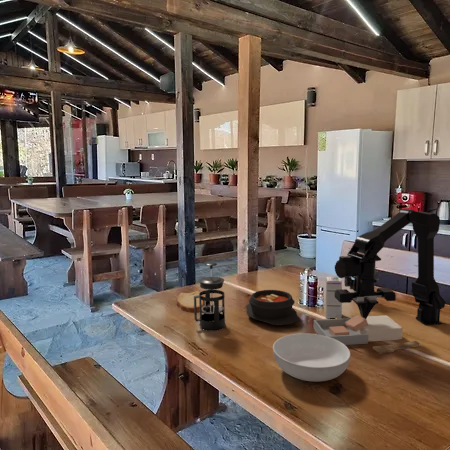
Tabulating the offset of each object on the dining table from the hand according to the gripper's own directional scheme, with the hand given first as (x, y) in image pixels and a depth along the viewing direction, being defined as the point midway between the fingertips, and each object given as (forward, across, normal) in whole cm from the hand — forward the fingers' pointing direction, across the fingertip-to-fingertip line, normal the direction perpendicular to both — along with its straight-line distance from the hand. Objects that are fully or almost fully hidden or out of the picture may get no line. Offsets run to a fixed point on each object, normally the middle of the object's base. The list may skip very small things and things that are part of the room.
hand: (363, 319), depth 138 cm
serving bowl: (+6, +24, +22) cm, 33 cm away
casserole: (+6, +27, -19) cm, 34 cm away
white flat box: (+5, -5, 0) cm, 7 cm away
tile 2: (+2, +2, +1) cm, 3 cm away
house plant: (+5, -12, -30) cm, 33 cm away
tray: (+5, +8, 0) cm, 9 cm away
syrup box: (+5, +4, -17) cm, 18 cm away
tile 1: (+3, +8, 0) cm, 9 cm away
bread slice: (+6, +57, -38) cm, 68 cm away
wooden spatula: (+5, -7, +11) cm, 14 cm away
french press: (+6, +50, -13) cm, 52 cm away
